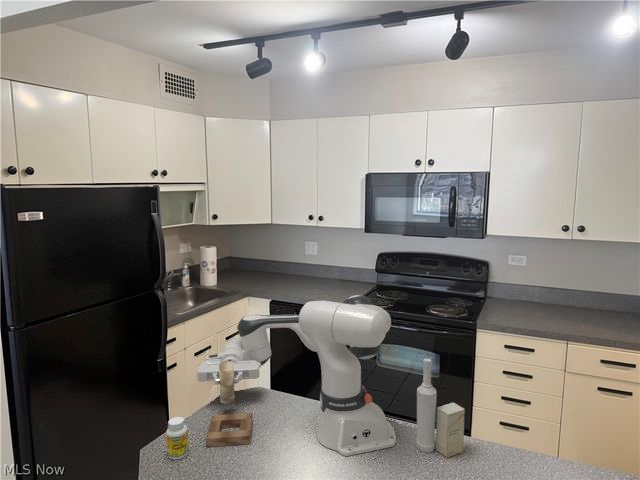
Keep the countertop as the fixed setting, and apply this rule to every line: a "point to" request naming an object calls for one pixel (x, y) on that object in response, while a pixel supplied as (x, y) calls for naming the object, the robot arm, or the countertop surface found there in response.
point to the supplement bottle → (177, 438)
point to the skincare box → (450, 429)
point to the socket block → (229, 437)
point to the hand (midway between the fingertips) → (226, 381)
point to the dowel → (226, 382)
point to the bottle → (426, 411)
